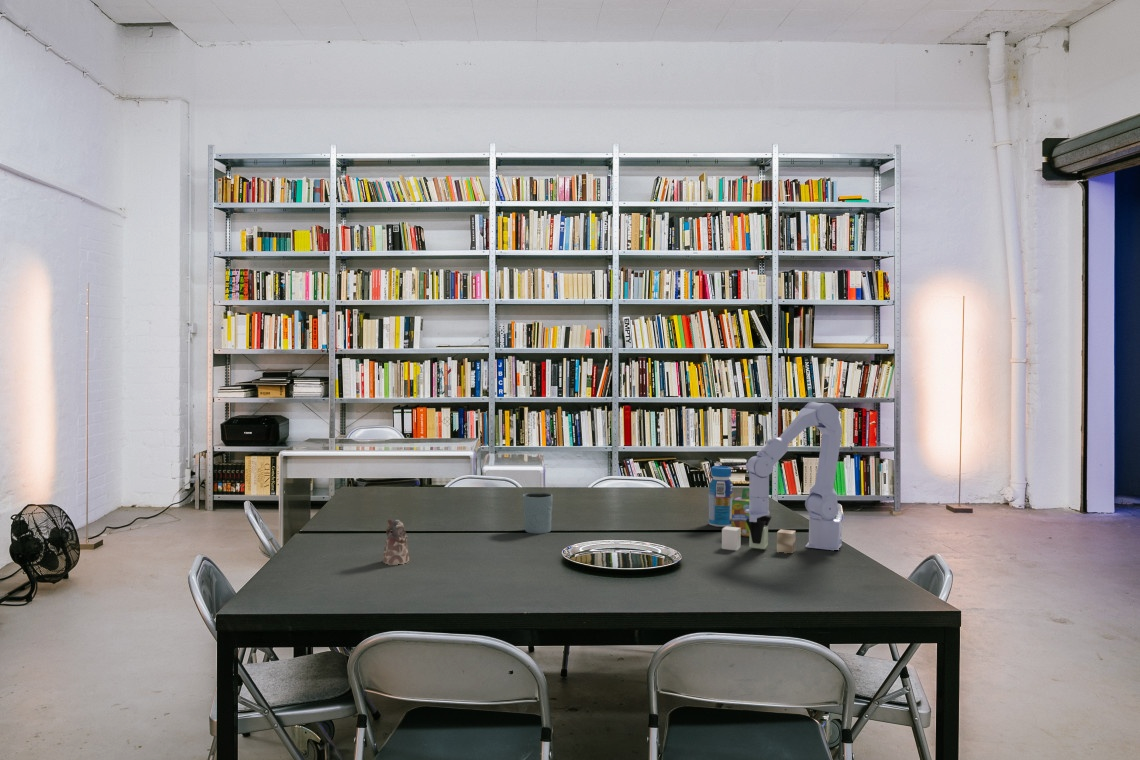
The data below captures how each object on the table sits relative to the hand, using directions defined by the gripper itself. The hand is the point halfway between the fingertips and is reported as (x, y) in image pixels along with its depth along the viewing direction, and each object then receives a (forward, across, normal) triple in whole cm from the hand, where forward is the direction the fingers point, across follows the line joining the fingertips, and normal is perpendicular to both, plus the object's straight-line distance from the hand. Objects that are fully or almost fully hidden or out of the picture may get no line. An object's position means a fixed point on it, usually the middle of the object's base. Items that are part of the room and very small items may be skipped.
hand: (758, 541), depth 230 cm
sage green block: (+1, 0, 0) cm, 1 cm away
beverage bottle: (+3, -28, -20) cm, 35 cm away
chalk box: (+3, -19, -8) cm, 21 cm away
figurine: (+2, +63, -86) cm, 107 cm away
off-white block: (+2, +2, -8) cm, 8 cm away
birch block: (+3, -2, +8) cm, 8 cm away
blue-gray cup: (+2, +10, -71) cm, 72 cm away
